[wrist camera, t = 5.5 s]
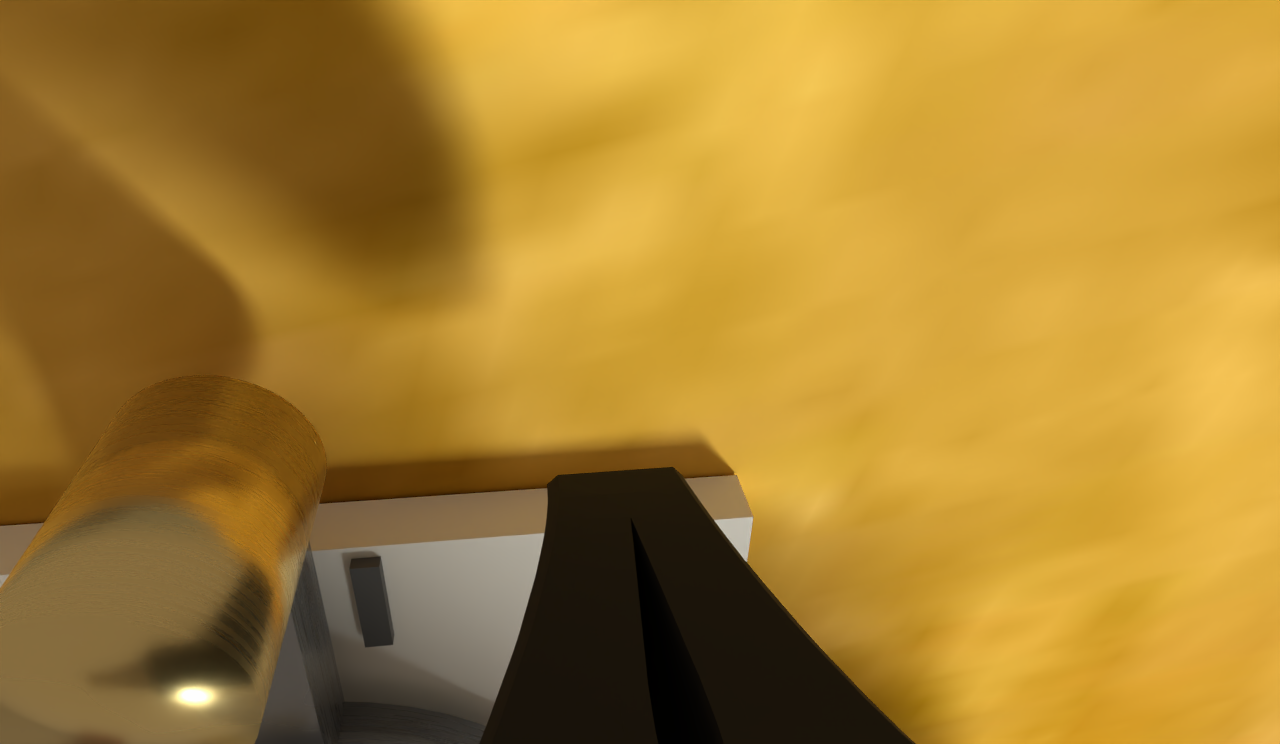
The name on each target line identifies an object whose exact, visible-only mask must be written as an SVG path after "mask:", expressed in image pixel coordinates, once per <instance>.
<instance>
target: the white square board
mask: <svg viewBox="0 0 1280 744" xmlns="http://www.w3.org/2000/svg"><path fill="white" fill-rule="evenodd" d="M685 480H686V482H687V483H688V485H689V486H690V487H691V489H692V490H693V492H694V493H695V495H696V496H697V497H698V499H699V500H700V502H701V503H702V504H703V506H704V507H705V509H706V510H707V511H708V513H709V514H710V515H711V517H712V518H713V519H714V521H715V522H716V523H717V525H718V526H719V528H720V529H721V530H722V531H723V533H724V534H725V535H726V537H727V538H728V539H729V540H730V542H731V543H732V544H733V546H734V547H735V548H736V550H737V551H738V552H739V553H740V555H741V556H742V557H743V558H744V560H745V561H746V562H747V557H748V550H749V543H750V536H751V529H752V522H753V515H752V512H751V510H750V507H749V505H748V502H747V500H746V497H745V495H744V492H743V490H742V487H741V485H740V482H739V480H738V477H737V475H729V476H715V477H700V478H686V479H685ZM547 506H548V495H547V488H541V489H527V490H513V491H498V492H484V493H469V494H455V495H440V496H426V497H412V498H397V499H383V500H368V501H354V502H340V503H325V504H319V505H318V509H317V513H316V517H315V520H314V524H313V528H312V532H311V536H310V539H309V541H310V546H311V550H312V555H313V559H314V564H315V569H316V573H317V578H318V582H319V587H320V591H321V596H322V601H323V605H324V610H325V614H326V619H327V623H328V628H329V633H330V637H331V642H332V646H333V651H334V656H335V660H336V665H337V669H338V674H339V678H340V683H341V688H342V692H343V697H344V701H345V702H372V703H381V704H391V705H400V706H409V707H415V708H420V709H425V710H430V711H435V712H440V713H445V714H449V715H452V716H456V717H459V718H462V719H466V720H469V721H472V722H476V723H479V724H482V725H484V726H486V725H487V723H488V720H489V717H490V714H491V711H492V709H493V706H494V703H495V700H496V698H497V695H498V692H499V689H500V687H501V684H502V681H503V678H504V676H505V673H506V670H507V667H508V665H509V662H510V659H511V656H512V654H513V651H514V648H515V645H516V641H517V638H518V635H519V632H520V629H521V625H522V621H523V618H524V614H525V611H526V607H527V604H528V600H529V597H530V593H531V590H532V586H533V583H534V579H535V576H536V571H537V567H538V562H539V558H540V553H541V548H542V544H543V538H544V532H545V526H546V518H547ZM43 524H44V523H37V524H22V525H8V526H0V588H1V586H2V585H3V583H4V582H5V580H6V579H7V577H8V576H9V574H10V573H11V571H12V570H13V568H14V567H15V565H16V564H17V562H18V561H19V559H20V558H21V556H22V555H23V553H24V552H25V550H26V549H27V547H28V546H29V544H30V543H31V541H32V540H33V538H34V537H35V535H36V534H37V532H38V531H39V529H40V528H41V526H42V525H43Z"/></svg>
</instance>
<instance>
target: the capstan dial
mask: <svg viewBox="0 0 1280 744" xmlns="http://www.w3.org/2000/svg"><path fill="white" fill-rule="evenodd" d="M326 471H327V462H326V454H325V450H324V447H323V444H322V442H321V440H320V437H319V435H318V433H317V432H316V430H315V429H314V427H313V426H312V424H311V423H310V422H309V421H308V420H307V418H306V417H305V416H304V415H303V414H302V413H301V412H300V411H299V410H298V409H296V408H295V407H294V406H293V405H292V404H290V403H289V402H287V401H286V400H285V399H283V398H282V397H280V396H278V395H276V394H275V393H273V392H271V391H269V390H267V389H264V388H262V387H260V386H257V385H255V384H252V383H248V382H245V381H242V380H238V379H233V378H228V377H220V376H207V375H196V376H185V377H179V378H174V379H169V380H166V381H163V382H160V383H157V384H154V385H152V386H150V387H148V388H146V389H144V390H142V391H140V392H139V393H137V394H136V395H134V396H133V397H132V398H131V399H130V400H128V401H127V402H126V403H125V404H124V405H123V406H122V408H121V409H120V410H119V412H118V413H117V414H116V416H115V417H114V419H113V420H112V422H111V423H110V425H109V426H108V428H107V429H106V431H105V432H104V434H103V435H102V437H101V438H100V440H99V441H98V443H97V444H96V446H95V447H94V449H93V450H92V452H91V453H90V455H89V456H88V458H87V459H86V461H85V462H84V464H83V465H82V467H81V468H80V470H79V471H78V473H77V474H76V476H75V477H74V479H73V480H72V482H71V483H70V485H69V486H68V488H67V489H66V491H65V492H64V494H63V495H62V497H61V498H60V500H59V501H58V503H57V504H56V506H55V507H54V509H53V510H52V512H51V513H50V515H49V516H48V518H47V519H46V521H45V522H44V524H43V525H42V526H41V528H40V529H39V531H38V532H37V534H36V535H35V537H34V538H33V540H32V541H31V543H30V544H29V546H28V547H27V549H26V550H25V552H24V553H23V555H22V556H21V558H20V559H19V561H18V562H17V564H16V565H15V567H14V568H13V570H12V571H11V573H10V574H9V576H8V577H7V579H6V580H5V582H4V583H3V585H2V586H1V588H0V744H479V743H480V740H481V738H482V735H483V733H484V730H485V728H486V726H484V725H482V724H479V723H476V722H472V721H469V720H466V719H462V718H459V717H456V716H452V715H449V714H445V713H440V712H435V711H430V710H425V709H420V708H415V707H409V706H400V705H391V704H381V703H372V702H345V701H344V697H343V692H342V688H341V683H340V678H339V674H338V669H337V665H336V660H335V656H334V651H333V646H332V642H331V637H330V633H329V628H328V623H327V619H326V614H325V610H324V605H323V601H322V596H321V591H320V587H319V582H318V578H317V573H316V569H315V564H314V559H313V555H312V550H311V546H310V541H309V539H310V536H311V532H312V528H313V524H314V520H315V517H316V513H317V509H318V505H319V501H320V498H321V494H322V490H323V486H324V482H325V478H326Z"/></svg>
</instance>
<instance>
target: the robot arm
mask: <svg viewBox="0 0 1280 744" xmlns="http://www.w3.org/2000/svg"><path fill="white" fill-rule="evenodd" d="M547 495H548V506H547V518H546V526H545V532H544V538H543V544H542V548H541V553H540V558H539V562H538V567H537V571H536V576H535V579H534V583H533V586H532V590H531V593H530V597H529V600H528V604H527V607H526V611H525V614H524V618H523V621H522V625H521V629H520V632H519V635H518V638H517V641H516V645H515V648H514V651H513V654H512V656H511V659H510V662H509V665H508V667H507V670H506V673H505V676H504V678H503V681H502V684H501V687H500V689H499V692H498V695H497V698H496V700H495V703H494V706H493V709H492V711H491V714H490V717H489V720H488V723H487V725H486V728H485V730H484V733H483V735H482V738H481V740H480V743H479V744H915V743H914V742H913V741H912V740H911V739H910V738H909V737H908V736H907V735H905V734H904V733H903V732H902V731H901V730H900V729H899V728H898V727H897V726H896V725H895V724H894V723H893V722H892V721H891V720H890V719H889V718H888V717H887V716H886V715H885V714H884V713H883V712H882V711H881V710H880V709H879V708H878V707H877V706H876V705H875V704H874V703H873V702H872V701H871V700H870V699H869V698H868V697H867V696H866V695H865V694H864V693H863V692H862V691H861V690H860V689H859V688H858V687H857V686H856V685H855V684H854V683H853V682H852V681H851V680H850V679H849V678H848V677H847V675H846V674H845V673H844V672H843V671H842V670H841V669H840V668H839V667H838V666H837V665H836V664H835V663H834V662H833V661H832V660H831V659H830V658H829V657H828V656H827V655H826V653H825V652H824V651H823V650H822V649H821V648H820V647H819V646H818V645H817V644H816V643H815V641H814V640H813V639H812V638H811V637H810V636H809V635H808V634H807V633H806V631H805V630H804V629H803V628H802V627H801V626H800V625H799V624H798V623H797V621H796V620H795V619H794V618H793V617H792V616H791V614H790V613H789V612H788V611H787V610H786V609H785V607H784V606H783V605H782V604H781V603H780V602H779V600H778V599H777V598H776V597H775V596H774V594H773V593H772V592H771V591H770V590H769V589H768V587H767V586H766V585H765V584H764V583H763V582H762V580H761V579H760V578H759V577H758V576H757V574H756V573H755V572H754V571H753V570H752V568H751V567H750V566H749V565H748V563H747V562H746V561H745V560H744V558H743V557H742V556H741V555H740V553H739V552H738V551H737V550H736V548H735V547H734V546H733V544H732V543H731V542H730V540H729V539H728V538H727V537H726V535H725V534H724V533H723V531H722V530H721V529H720V528H719V526H718V525H717V523H716V522H715V521H714V519H713V518H712V517H711V515H710V514H709V513H708V511H707V510H706V509H705V507H704V506H703V504H702V503H701V502H700V500H699V499H698V497H697V496H696V495H695V493H694V492H693V490H692V489H691V487H690V486H689V485H688V483H687V482H686V480H685V479H684V477H683V476H682V475H681V474H680V473H679V472H678V471H677V470H676V469H675V468H673V467H667V468H653V469H638V470H624V471H610V472H596V473H581V474H567V475H558V476H556V477H555V478H554V479H553V480H552V481H551V482H550V483H548V484H547Z"/></svg>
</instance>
